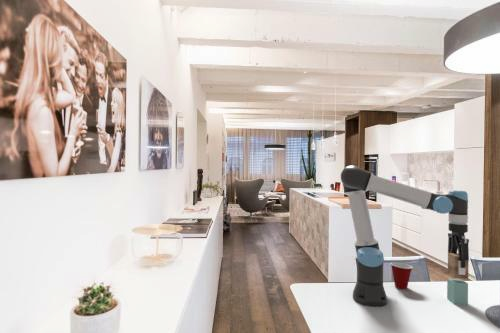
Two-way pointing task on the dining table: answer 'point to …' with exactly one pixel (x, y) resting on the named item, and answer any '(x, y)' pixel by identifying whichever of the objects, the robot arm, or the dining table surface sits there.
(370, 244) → the robot arm
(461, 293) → the teal block
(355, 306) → the dining table surface
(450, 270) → the walnut block
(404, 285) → the plastic cup
